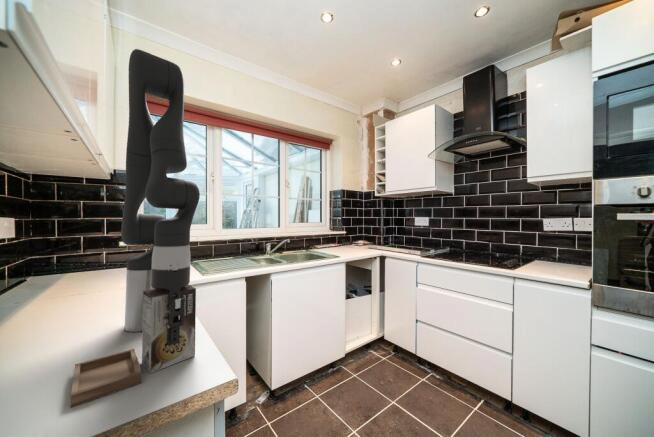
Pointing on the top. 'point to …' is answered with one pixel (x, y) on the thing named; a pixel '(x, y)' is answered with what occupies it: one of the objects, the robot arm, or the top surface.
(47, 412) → the top surface
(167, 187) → the robot arm
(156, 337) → the coffee box
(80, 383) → the shallow square tray
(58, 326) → the top surface
